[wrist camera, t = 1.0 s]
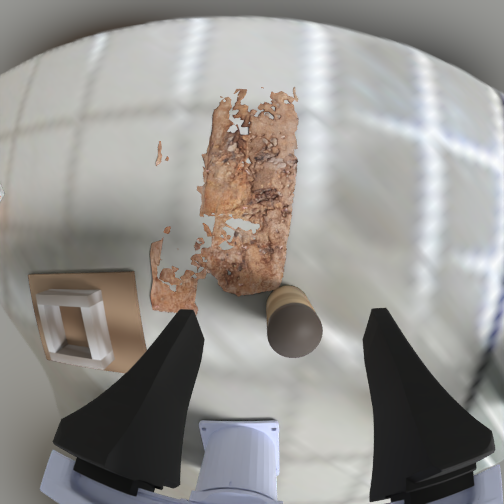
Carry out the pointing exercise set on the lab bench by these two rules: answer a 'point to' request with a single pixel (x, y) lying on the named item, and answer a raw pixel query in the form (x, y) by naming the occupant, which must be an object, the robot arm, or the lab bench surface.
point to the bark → (240, 204)
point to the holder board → (89, 319)
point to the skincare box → (1, 192)
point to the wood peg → (292, 322)
